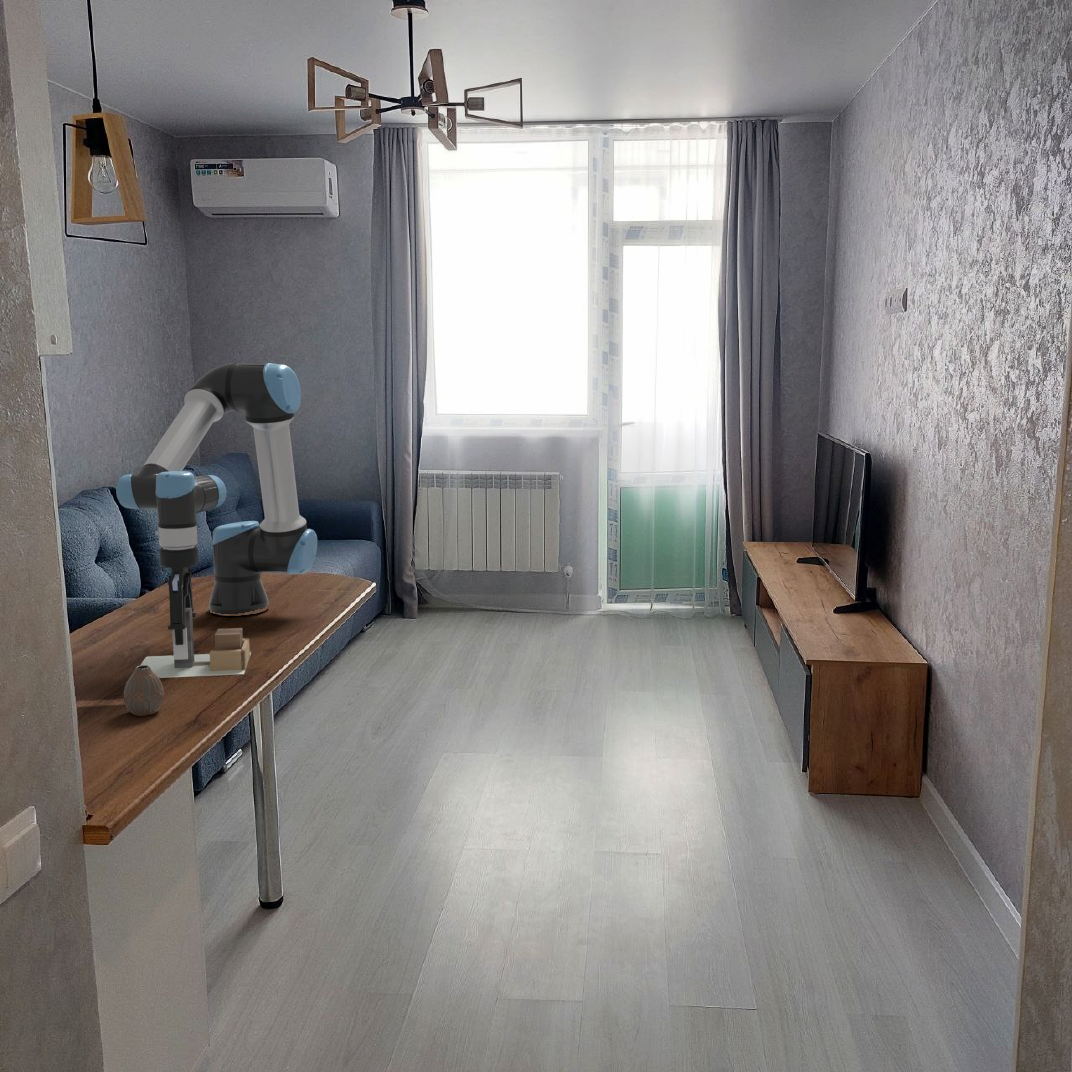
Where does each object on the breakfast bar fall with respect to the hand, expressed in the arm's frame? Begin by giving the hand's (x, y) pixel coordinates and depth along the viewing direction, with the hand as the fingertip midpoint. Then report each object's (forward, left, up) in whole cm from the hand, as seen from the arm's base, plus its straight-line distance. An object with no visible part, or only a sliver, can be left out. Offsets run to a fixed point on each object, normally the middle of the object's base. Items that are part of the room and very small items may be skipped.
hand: (184, 653), depth 210 cm
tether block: (0, +5, -3) cm, 6 cm away
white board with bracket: (0, +2, -4) cm, 4 cm away
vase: (+26, -3, -4) cm, 26 cm away
